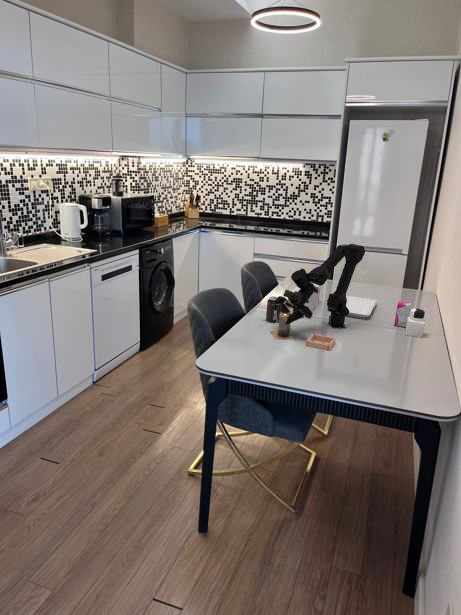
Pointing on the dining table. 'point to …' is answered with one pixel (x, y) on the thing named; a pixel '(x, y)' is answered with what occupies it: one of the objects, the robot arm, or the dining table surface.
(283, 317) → the battery cell
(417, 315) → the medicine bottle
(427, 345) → the dining table surface
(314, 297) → the long white box
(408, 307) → the supplement box
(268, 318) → the beverage can
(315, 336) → the shallow wooden box
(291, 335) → the tester plate
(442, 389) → the dining table surface
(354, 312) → the tray
